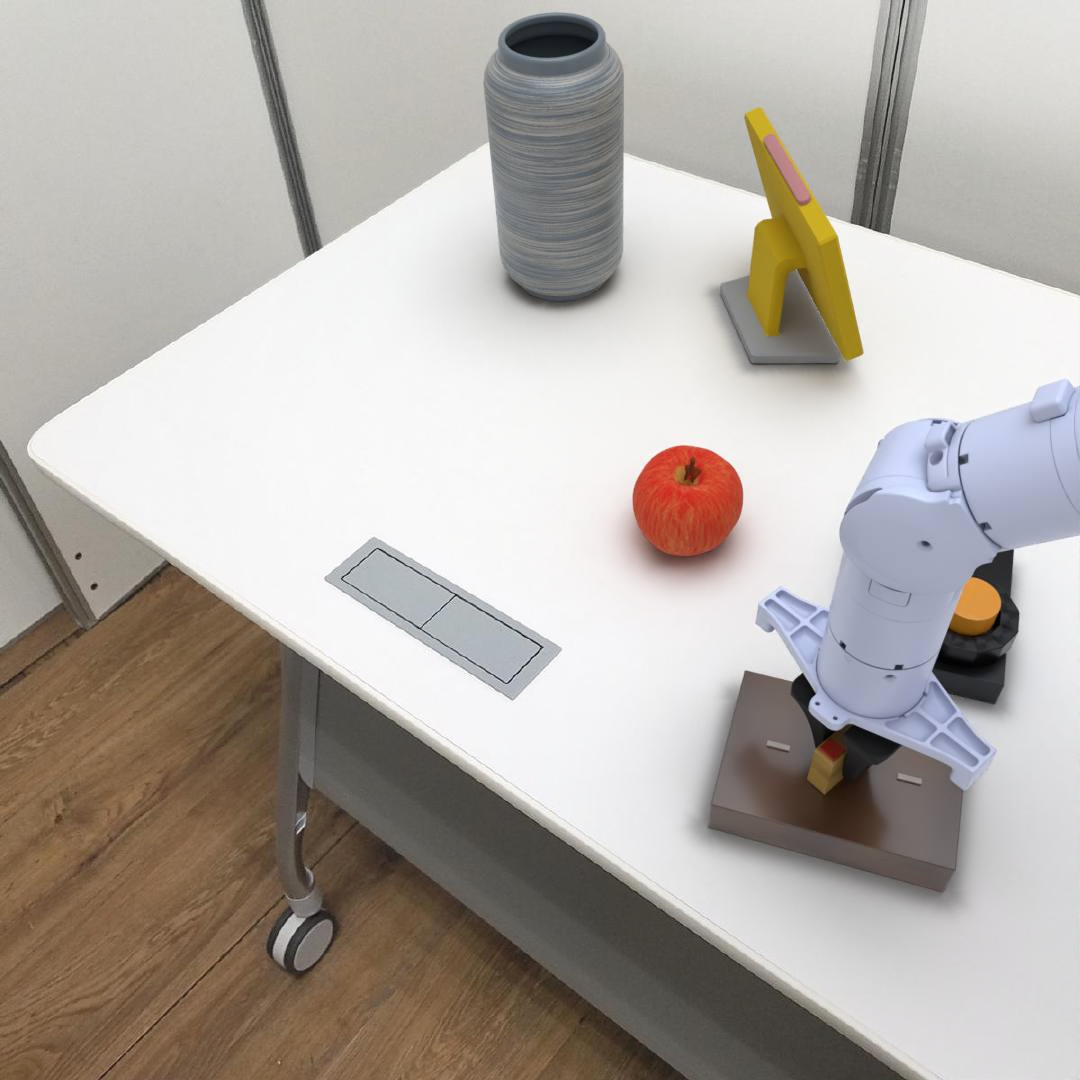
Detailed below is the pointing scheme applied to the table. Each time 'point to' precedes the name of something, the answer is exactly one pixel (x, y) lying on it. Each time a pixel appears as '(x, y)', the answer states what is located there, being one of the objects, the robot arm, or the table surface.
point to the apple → (687, 500)
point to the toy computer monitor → (791, 269)
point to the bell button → (976, 608)
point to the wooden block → (829, 761)
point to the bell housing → (982, 642)
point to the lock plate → (833, 795)
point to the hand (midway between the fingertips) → (844, 758)
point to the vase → (557, 153)
